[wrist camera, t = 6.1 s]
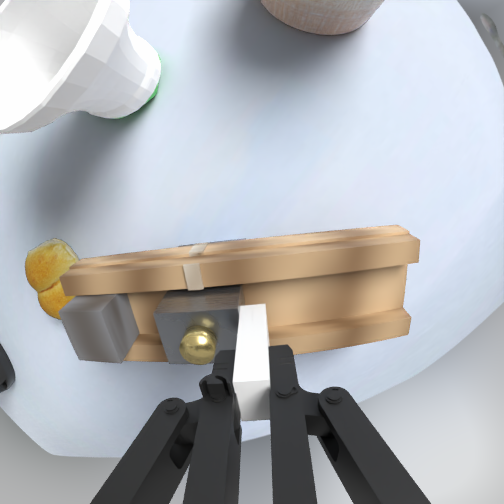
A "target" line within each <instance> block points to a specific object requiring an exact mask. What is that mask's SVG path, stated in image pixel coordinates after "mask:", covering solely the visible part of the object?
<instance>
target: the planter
mask: <svg viewBox="0 0 504 504" xmlns="http://www.w3.org/2000/svg"><path fill="white" fill-rule="evenodd" d="M260 1H261V3H262V4H263V6H264V7H265V8H266V9H267V11H268V12H270V13H271V14H272V15H273V16H274V17H276V18H277V19H278V20H280V21H281V22H283V23H285V24H287V25H289V26H291V27H293V28H296V29H299V30H302V31H305V32H309V33H314V34H321V35H339V34H344V33H348V32H351V31H354V30H356V29H357V28H359V27H360V26H362V25H363V24H365V23H366V22H367V21H368V19H369V18H370V17H371V16H372V15H373V13H374V12H375V11H376V10H377V9H378V7H379V6H380V5H381V4H382V3H383V1H384V0H260Z"/></svg>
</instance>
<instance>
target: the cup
mask: <svg viewBox="0 0 504 504" xmlns="http://www.w3.org/2000/svg"><path fill="white" fill-rule="evenodd" d="M129 3H130V0H5V2H4V3H3V4H2V5H1V6H0V134H8V133H24V132H33V131H35V130H37V129H39V128H41V127H43V126H46V125H48V124H50V123H52V122H54V121H55V120H57V119H58V118H59V117H61V116H62V115H64V114H67V113H70V112H74V111H87V112H88V113H89V114H91V115H95V116H99V117H103V118H112V119H120V118H124V117H126V116H128V115H129V114H131V113H133V112H135V111H137V110H138V109H139V108H140V107H141V106H142V105H144V104H145V103H147V102H148V101H149V100H150V99H152V98H153V97H154V96H155V95H156V93H157V88H158V84H159V78H160V74H161V62H160V57H159V55H158V54H157V52H156V51H155V50H154V49H153V48H152V46H150V45H149V44H148V43H147V42H146V41H145V40H143V39H142V38H140V37H139V36H136V35H135V33H134V32H133V30H132V29H131V27H130V24H129V21H128V19H129Z"/></svg>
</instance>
